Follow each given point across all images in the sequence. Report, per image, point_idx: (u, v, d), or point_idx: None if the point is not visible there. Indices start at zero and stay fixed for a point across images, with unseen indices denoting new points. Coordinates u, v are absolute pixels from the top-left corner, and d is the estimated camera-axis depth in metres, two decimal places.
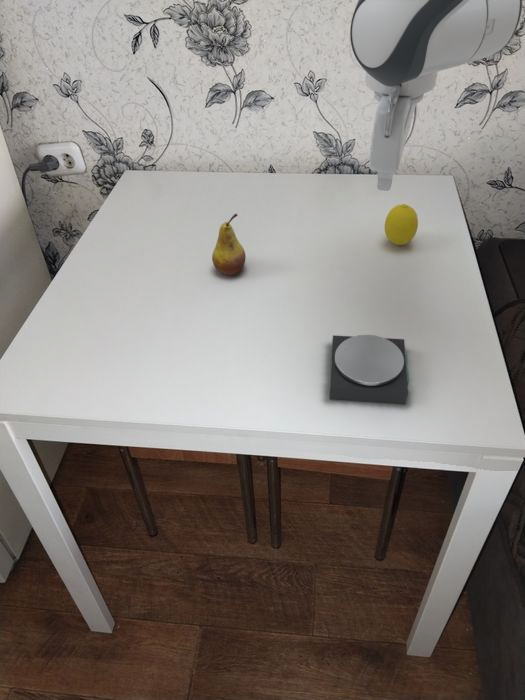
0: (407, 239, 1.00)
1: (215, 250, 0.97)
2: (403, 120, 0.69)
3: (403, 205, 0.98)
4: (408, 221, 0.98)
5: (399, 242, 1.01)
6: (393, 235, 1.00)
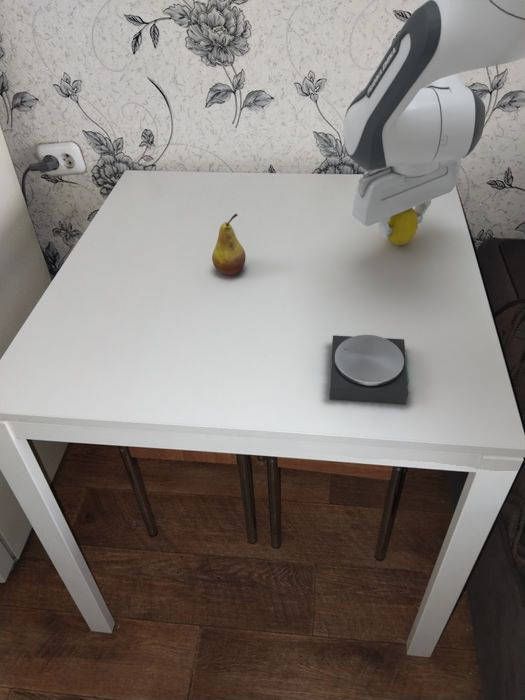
0: (407, 239, 1.00)
1: (215, 250, 0.97)
2: (374, 189, 0.89)
3: None
4: (408, 222, 0.98)
5: (399, 242, 1.01)
6: (393, 235, 1.00)
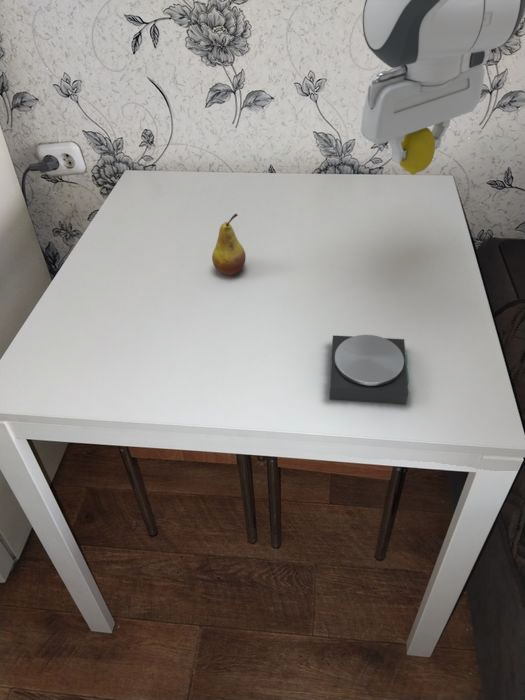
0: (423, 164, 0.89)
1: (215, 250, 0.97)
2: (385, 97, 0.78)
3: None
4: (424, 143, 0.87)
5: (414, 168, 0.89)
6: (407, 159, 0.89)
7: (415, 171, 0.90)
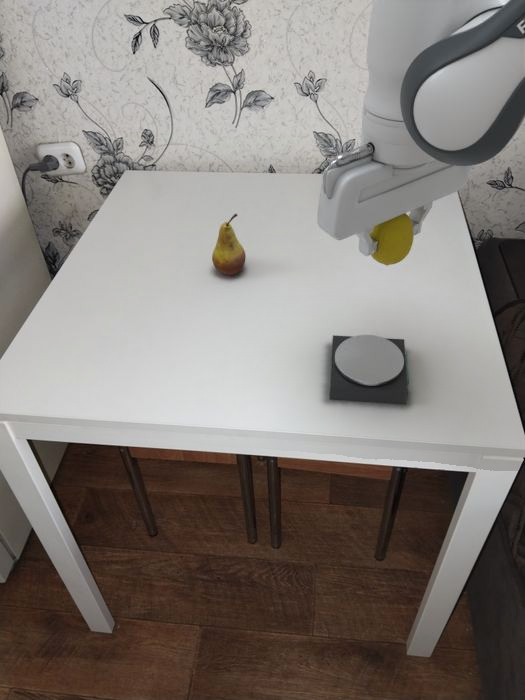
0: (398, 257, 0.70)
1: (215, 250, 0.97)
2: (345, 186, 0.60)
3: None
4: (400, 233, 0.68)
5: (387, 261, 0.71)
6: (378, 251, 0.70)
7: (389, 263, 0.72)
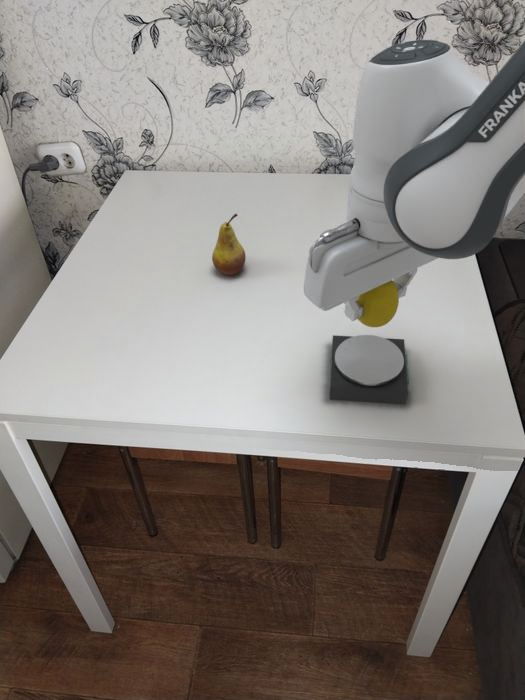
0: (383, 321, 0.71)
1: (215, 250, 0.97)
2: (331, 262, 0.61)
3: None
4: (385, 299, 0.69)
5: (373, 325, 0.72)
6: (364, 316, 0.71)
7: (374, 326, 0.73)
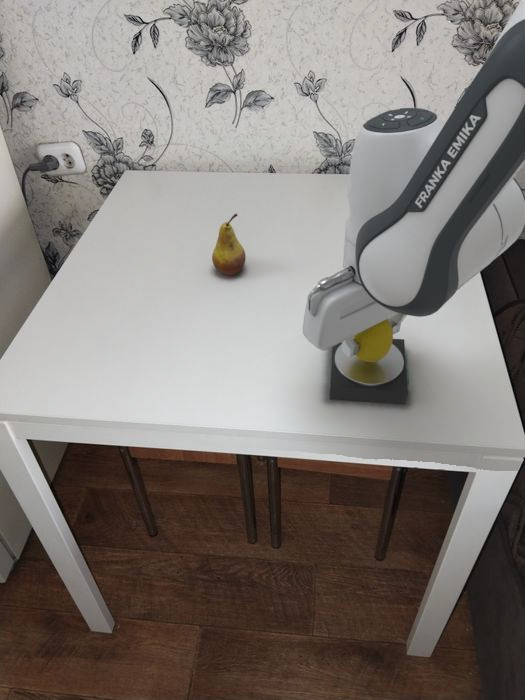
0: (378, 357, 0.76)
1: (215, 250, 0.97)
2: (328, 308, 0.65)
3: None
4: (379, 337, 0.74)
5: (368, 360, 0.76)
6: (360, 352, 0.75)
7: (370, 361, 0.77)
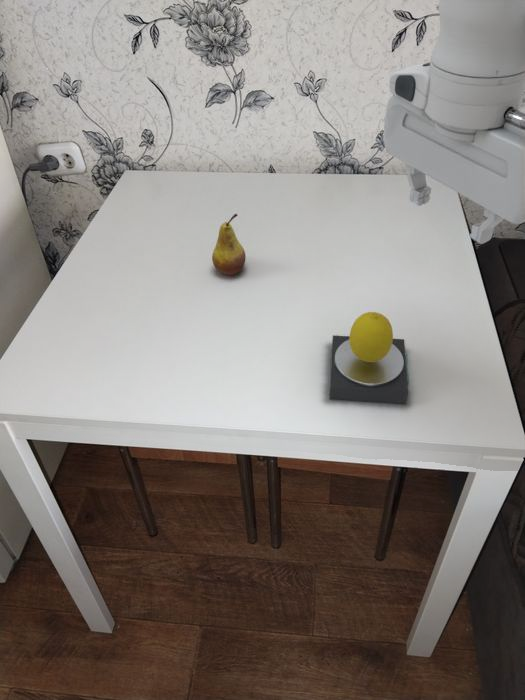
0: (378, 357, 0.76)
1: (215, 250, 0.97)
2: None
3: (373, 315, 0.74)
4: (380, 337, 0.74)
5: (368, 360, 0.76)
6: (360, 352, 0.75)
7: None
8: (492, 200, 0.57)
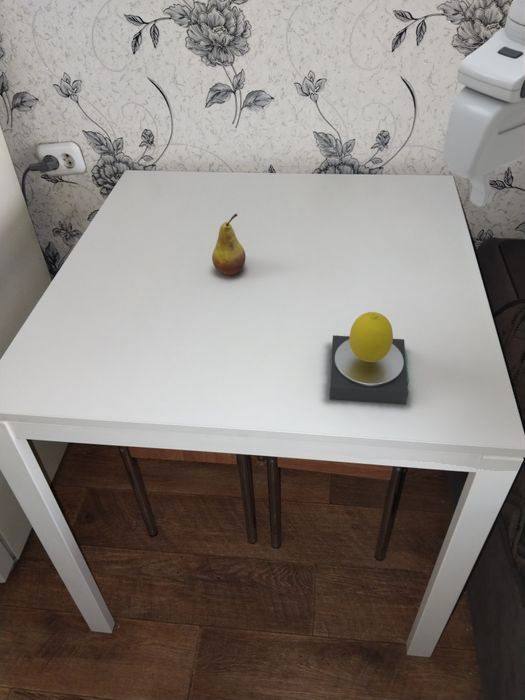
0: (378, 357, 0.76)
1: (215, 250, 0.97)
2: None
3: (373, 315, 0.74)
4: (380, 337, 0.74)
5: (368, 360, 0.76)
6: (360, 352, 0.75)
7: None
8: None
